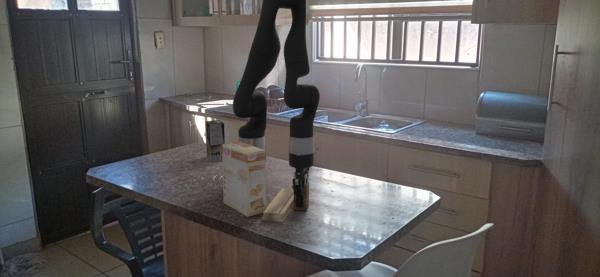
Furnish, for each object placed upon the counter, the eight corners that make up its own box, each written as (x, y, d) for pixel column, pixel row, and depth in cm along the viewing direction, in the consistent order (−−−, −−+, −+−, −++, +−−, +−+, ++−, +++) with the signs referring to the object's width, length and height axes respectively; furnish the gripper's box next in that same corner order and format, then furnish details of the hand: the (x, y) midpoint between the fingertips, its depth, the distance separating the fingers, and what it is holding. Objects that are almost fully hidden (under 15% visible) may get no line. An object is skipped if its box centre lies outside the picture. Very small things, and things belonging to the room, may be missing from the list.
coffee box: (225, 161, 202) (224, 123, 199) (210, 162, 200) (209, 124, 196) (221, 155, 211) (219, 119, 207) (206, 157, 208) (205, 120, 205)
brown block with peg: (290, 209, 148) (290, 184, 146) (293, 205, 151) (293, 180, 150) (306, 210, 147) (306, 185, 145) (308, 206, 151) (309, 181, 149)
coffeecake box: (267, 212, 146) (266, 150, 142) (247, 217, 142) (245, 153, 138) (242, 198, 158) (240, 140, 153) (222, 203, 153) (220, 143, 149)
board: (263, 220, 140) (263, 211, 139) (282, 195, 161) (282, 187, 160) (283, 222, 139) (283, 213, 138) (299, 196, 160) (299, 189, 159)
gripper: (294, 144, 152) (294, 195, 156) (283, 155, 139) (283, 211, 143) (317, 145, 151) (317, 197, 155) (309, 157, 137) (308, 213, 141)
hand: (301, 203), depth 149 cm, fingers closed on brown block with peg, 4 cm apart
